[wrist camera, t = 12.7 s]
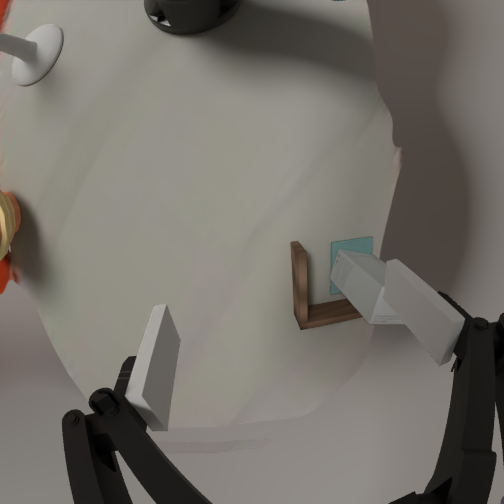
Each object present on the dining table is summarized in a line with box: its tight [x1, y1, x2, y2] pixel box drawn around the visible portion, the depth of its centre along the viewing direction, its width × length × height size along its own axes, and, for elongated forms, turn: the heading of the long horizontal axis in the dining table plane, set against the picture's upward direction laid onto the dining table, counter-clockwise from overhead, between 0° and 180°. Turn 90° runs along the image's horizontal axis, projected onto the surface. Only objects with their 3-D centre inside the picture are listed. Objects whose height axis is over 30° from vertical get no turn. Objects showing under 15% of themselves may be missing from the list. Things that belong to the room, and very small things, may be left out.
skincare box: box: [330, 249, 405, 324], centre depth 40 cm, size 8×6×15 cm
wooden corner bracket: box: [291, 241, 363, 330], centre depth 45 cm, size 14×16×5 cm
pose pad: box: [330, 237, 373, 294], centre depth 47 cm, size 10×8×1 cm
